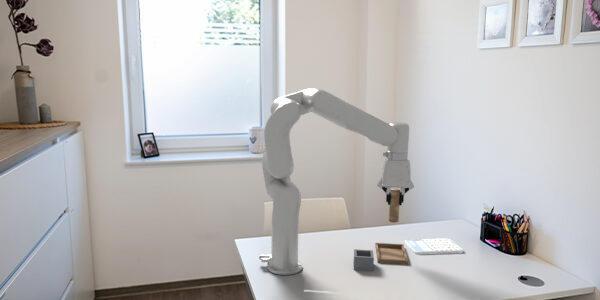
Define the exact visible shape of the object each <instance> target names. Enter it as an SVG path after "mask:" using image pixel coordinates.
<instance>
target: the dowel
mask: <svg viewBox="0 0 600 300" xmlns="http://www.w3.org/2000/svg"><path fill="white" fill-rule="evenodd" d="M400 192H401V189H397V188H390V194H391V200H390V205H389V207H388V209H389V210H388V211H389V213H388V222H390V223H395V224H396V223H399V221H400V220H399V219H400V218H399V217H400V205H399V203H400Z"/></svg>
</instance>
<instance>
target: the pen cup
mask: <svg viewBox="0 0 600 300" xmlns="http://www.w3.org/2000/svg"><path fill="white" fill-rule="evenodd" d="M374 261H375V256H374V250H372V249H356V248H355V249H353V271H366V272H374V265H375V264H374Z"/></svg>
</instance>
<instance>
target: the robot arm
mask: <svg viewBox="0 0 600 300" xmlns="http://www.w3.org/2000/svg"><path fill="white" fill-rule="evenodd" d="M309 113H313V114H315V115H317V116H319V117H321V118H323V119H325V120H327V121H328V122H331V123H333V124H335V125H336V126H338V127H340V128H343V129H345V130H348V131H350V132H353V133H357V134H359V135H362V136H364V137H365V138H367V139H368V140H369V141H371V142H372V143H375V144H377V145H381V146H383V147H386V151H385V152H383V153H382V157H385V159H384V161H383V166H382V173H381V174H382V175H381V178H380V180H379V181H378V182H377V183H376V186H377V187H379V188H380V189H381V190H382V191H383V192H384V193H385V194H386V196H385V201H386V203H387V204H388V206H390V200H391V194H390V190H391V189H392V188H400V203H399V206H402V203H403V204H404V198H405V195H406V194H407V193H408V192H409V191H410V190H412V189H414V188H415V185H414V184H413V182H412V180H411V177H412V175H411V162H410V160H409V157H408V156H409V139H410V138H409V137H410V125H409V124H408V123H407V122H400V121H399V122H398V121H396V122H386V121H384V120H382V119H380V118H378V117H377V116H374V115H372V114H370V113H368V112H366V111H365V110H362V109H361V108H359V107H357V106H355V105H353V104H352V103H349V102H348V101H346V100H343V99H341V98H339V97H338V96H336V95H334V94H332V93H330V92H328V91H326V90H324V89H321V88H316V87H311V88H306V89H303V90H299V91H297V92H293V93H289V94H287V95H283V96H280V97H278V98H276V99H275V100H274V101H272V103H271V106H270V116H269V118H268V119H267V121H266V124H265V126H264V131H263V133H264V134H263V135H264V136H263V139H264V146H265V148H264V149H265V151H264V153H263V155H262V158H261V167H262V172H263V178H264V183H265V190H266V193H267V195H268V197H269V199H271V201H272V212H271V247H270V248H271V253H269V254H263V253H262V254H259V257H258V259H259V260H260V261H261V263H266V269H267V271H269V272H270V273H272V274H275V275H281V276H288V275H289V276H290V275H294V274H297V273H299V272H300V271H302V269H303V263H302V262H301V261H299V233H300V232H299V231H300V230H299V229H300V226H299V225H300V212H301V211H300V210H301V203H302V196H301V192H300V190H299V188H298V186H297V185H296V184H295V183H294V182H293V181H291V175H292V174H293V172H294V168H295V167H294V166H295V165H294V158H293V154H292V147H291V138H290V136H291V135H290V134H291V130H292V129H293V126H294V125H296V123H297V122H299V120H300V119H301V116H303V115H306V114H309Z"/></svg>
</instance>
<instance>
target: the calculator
mask: <svg viewBox="0 0 600 300" xmlns="http://www.w3.org/2000/svg"><path fill="white" fill-rule="evenodd" d="M404 243H405V245H406V246H407V247H408V248H409V249H411V250H412V252H413V253H414V254H415V255H443V254H444V255H445V254H446V255H447V254H448V255H450V254H462V253H464V249H463V248H462V247H461V246H459V245H458V244H457V243H456V242H455V241H453V240H452V239H450V238H443V237H442V238H441V237H440V238H416V239H410V238H409V239H405V240H404Z"/></svg>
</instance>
